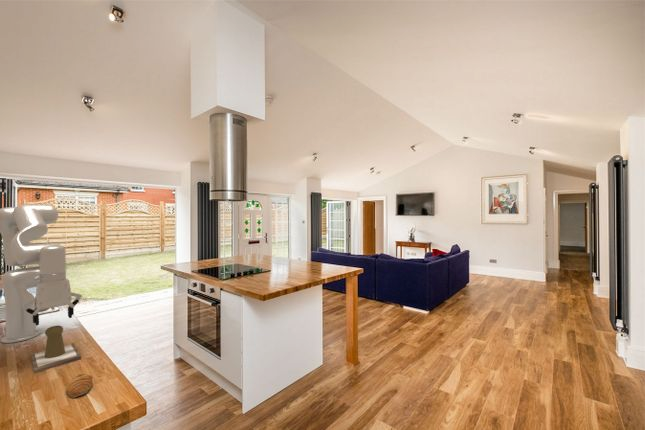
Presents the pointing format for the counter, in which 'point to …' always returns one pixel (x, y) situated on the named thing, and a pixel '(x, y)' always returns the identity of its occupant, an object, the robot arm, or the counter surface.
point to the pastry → (79, 385)
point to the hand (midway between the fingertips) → (54, 320)
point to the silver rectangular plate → (46, 363)
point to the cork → (54, 342)
